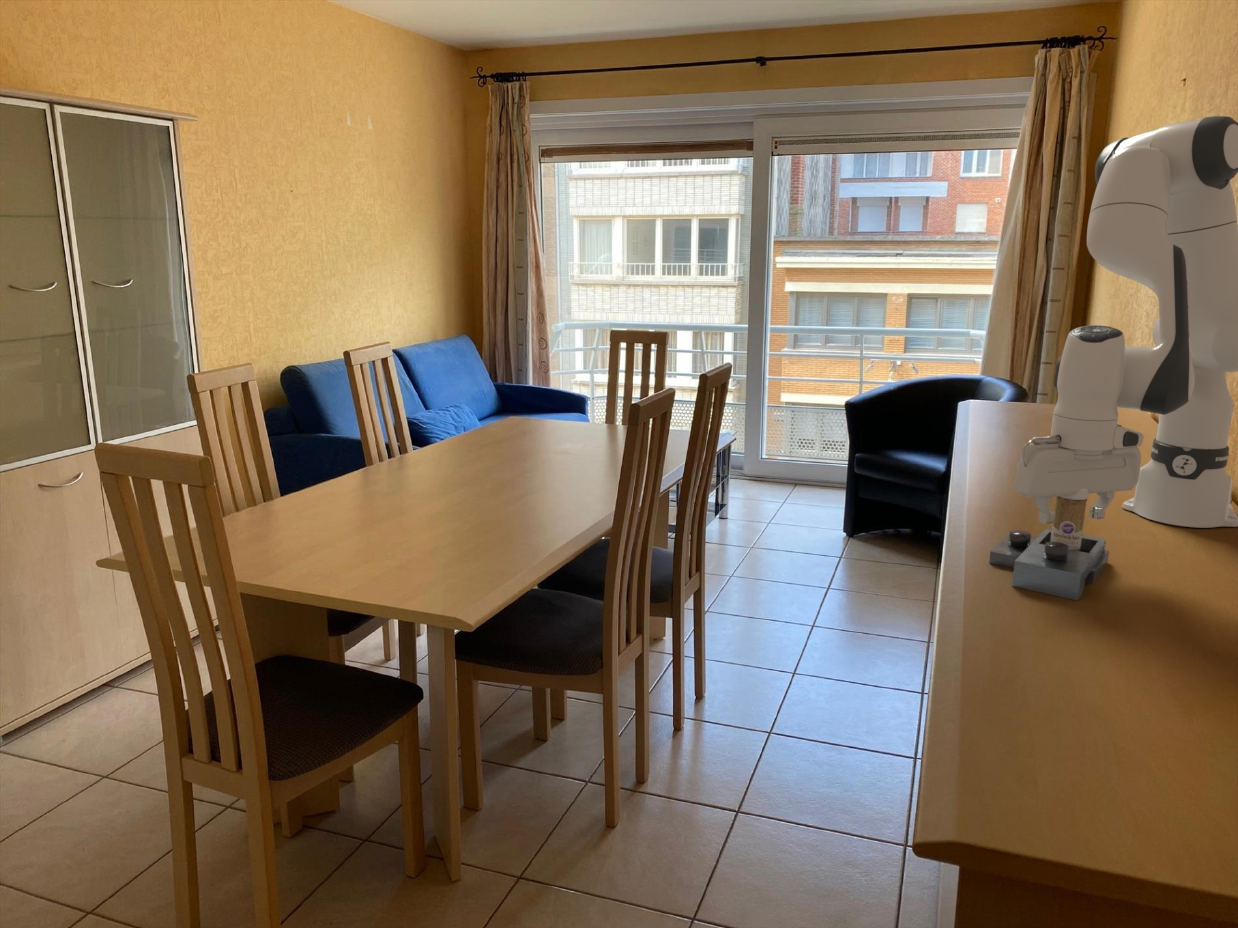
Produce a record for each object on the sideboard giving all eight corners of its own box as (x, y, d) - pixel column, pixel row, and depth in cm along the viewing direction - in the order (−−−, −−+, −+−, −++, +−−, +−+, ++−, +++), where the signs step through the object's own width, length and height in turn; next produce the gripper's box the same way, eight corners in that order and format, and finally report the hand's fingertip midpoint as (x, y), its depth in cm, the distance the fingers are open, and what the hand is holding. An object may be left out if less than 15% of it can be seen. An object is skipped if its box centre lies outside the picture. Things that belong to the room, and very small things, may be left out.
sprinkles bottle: (1050, 569, 143) (1061, 487, 139) (1043, 559, 147) (1053, 479, 144) (1082, 571, 142) (1093, 489, 138) (1074, 561, 146) (1085, 481, 143)
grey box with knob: (1042, 551, 151) (1047, 517, 149) (1102, 563, 145) (1108, 527, 144) (1011, 585, 136) (1016, 548, 134) (1077, 600, 131) (1082, 561, 129)
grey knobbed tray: (1009, 543, 155) (1012, 521, 154) (1107, 562, 146) (1111, 538, 145) (989, 563, 145) (991, 539, 144) (1092, 584, 136) (1096, 559, 135)
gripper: (1039, 442, 133) (1028, 531, 137) (1153, 434, 138) (1139, 521, 142) (1010, 433, 139) (1001, 519, 142) (1120, 426, 144) (1108, 509, 148)
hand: (1071, 520), depth 142 cm, fingers open, 8 cm apart
